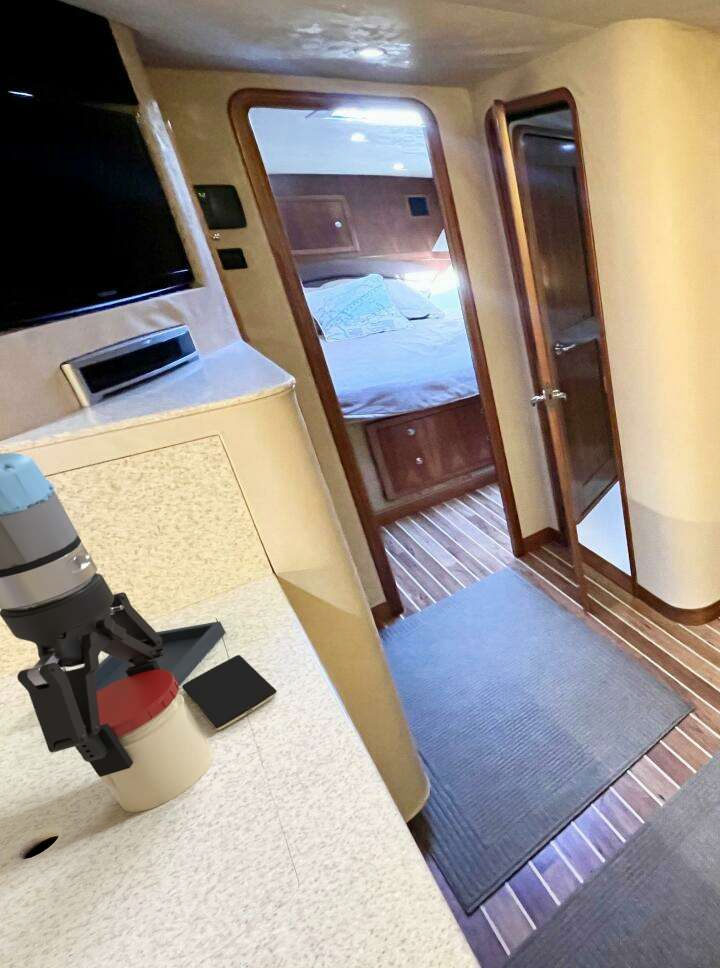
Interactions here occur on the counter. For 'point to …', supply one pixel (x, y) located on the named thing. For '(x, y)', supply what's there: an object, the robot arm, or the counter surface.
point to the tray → (168, 653)
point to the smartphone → (229, 691)
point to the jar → (161, 759)
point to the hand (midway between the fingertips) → (141, 734)
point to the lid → (136, 700)
